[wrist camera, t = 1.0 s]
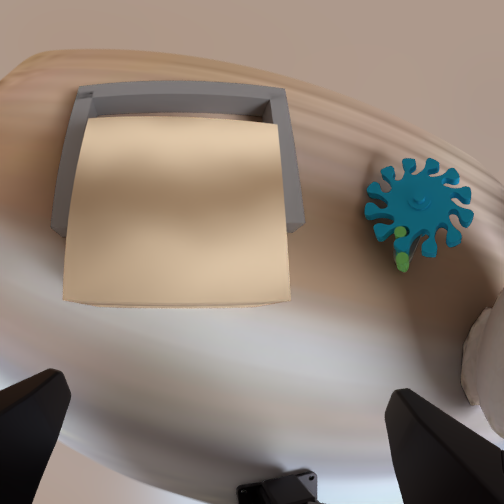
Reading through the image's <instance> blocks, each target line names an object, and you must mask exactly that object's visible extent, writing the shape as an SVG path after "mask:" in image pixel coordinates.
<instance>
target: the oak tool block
mask: <svg viewBox="0 0 504 504" xmlns="http://www.w3.org/2000/svg"><path fill="white" fill-rule="evenodd" d="M63 300H65V301H70V302H75V303H81V304H86V305H92V306H97V307H117V308H243V307H258V306H264V305H270V304H275V303H281V302H286V301H291V296H290V278H289V261H288V245H287V231H286V217H285V204H284V191H283V179H282V167H281V156H280V145H279V135H278V125H277V124H269V123H261V122H251V121H241V120H229V119H216V118H199V117H171V116H129V117H102V118H88V122H87V125H86V129H85V133H84V137H83V141H82V146H81V150H80V155H79V159H78V164H77V169H76V174H75V179H74V185H73V191H72V197H71V204H70V211H69V218H68V227H67V236H66V246H65V258H64V275H63Z"/></svg>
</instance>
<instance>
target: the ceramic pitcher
mask: <svg viewBox="0 0 504 504" xmlns="http://www.w3.org/2000/svg"><path fill="white" fill-rule="evenodd" d="M461 385H462V387H463V389H464V392H465V394H466V396H467V398H468V400H469V402H470V404H471V406H473V405H480V407H481V409H482V411H483V413H484V415H485V417H486V419H487V421H488V422H489V424H490V426H491V428H492V429H493V430H494V431H495V432H496V433H497V434H498V435H499V436H500V437H502V438H503V439H504V289H503V290H502V291H501V292H500V294H499V296H498V298H497V300H496V301H495V304H494V306H493V308H489V307H486V308H485V309H484V310H483V312H482V313H481V315H480V316H479V317H478V319H477V320H476V322H475V323H474V324H473V326H472V327H471V330H470V332H469V334H468V336H467V338H466V340H465V342H464V344H463V360H462V371H461Z"/></svg>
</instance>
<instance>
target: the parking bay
mask: <svg viewBox="0 0 504 504" xmlns="http://www.w3.org/2000/svg"><path fill="white" fill-rule="evenodd" d="M155 112H193V113H222V114H239V115H252V116H262V119H263V123H269V124H277V125H278V135H279V145H280V156H281V167H282V179H283V191H284V204H285V217H286V231H287V233H293V232H294V231H296V230H297V229H298V228H299V227H301V226H302V225H303V224H305V216H304V208H303V200H302V193H301V185H300V178H299V171H298V164H297V158H296V151H295V145H294V138H293V132H292V126H291V120H290V114H289V109H288V103H287V97H286V92H285V89H283V88H276V87H267V86H259V85H249V84H238V83H224V82H206V81H138V82H120V83H107V84H97V85H87V86H79V89H78V93H77V96H76V99H75V103H74V106H73V110H72V113H71V117H70V121H69V124H68V128H67V132H66V137H65V141H64V145H63V150H62V155H61V160H60V165H59V170H58V176H57V182H56V188H55V194H54V202H53V209H52V218H51V228H52V229H53V230H54V231H56V232H57V233H58V234H59V235H61V236H62V237H66V236H67V227H68V218H69V211H70V204H71V197H72V191H73V185H74V179H75V174H76V169H77V164H78V159H79V155H80V150H81V146H82V141H83V137H84V133H85V129H86V125H87V122H88V118H97V116H98V115H111V114H127V113H155Z"/></svg>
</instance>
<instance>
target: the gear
mask: <svg viewBox="0 0 504 504" xmlns="http://www.w3.org/2000/svg"><path fill="white" fill-rule="evenodd" d="M402 164H403V169H404V171H405V173H404V176H403V178H402V179H401V180H399V181H396V180H394V179H395V171H394V168H393V167H392V166H388V167H386V168H383V169H382V170H381V174H382V178H383V180H385V181H386V182H388V183H389V184H390V186H391V188H392V189H391V191H390V192H388V193H384V192H382V191H381V188H380V184H379V183H377V182H373V183H371V184H370V185H369V186H368V188H367V193H368V195H369V197H370V198H374V199H379V200H382V201H383V202H385V203H386V204H387V205H388V206H387V207H386V208H384V209H380V208H378V207H377V206H376V204H374V203H371V202H370V203H367V204H366V206H365V217H366V219H367V220H374V219H377V218H387V219H390V220H393V221H394V223H393V224H391V225H386V224H383V223H377V224H375V225H374V226H373V227H374V232H375V235H376V238H377V239H378V241H379V242H383V241H385V240H386V239H387V238H388V237H389V236H390V235H392V234H393V233H394V234H395V241H394V251H393V257H394V261H395V263H396V264H397V268H398V270H400V271H402V272H406V271H407V270H408V268H409V263H410V262H411V260H412V258H413V255H414V253H415V251H416V248H417V246H418V243H419V241H420V238H421V237H423V236H425V234H426V235H428V236H429V238H428V239H427V240H426V241H424V242H423V244H422V255H423V256H425V257H436V255H437V244H436V242H435V234H436V231H437V230H438V229H439V228H445V229H446V230H447V236H446V244H447V246H448V247H454V246H456V245H458V244H460V243H461V239H462V235H461V233H460V232H459V231H458V230H457V229H456V228H455V227H454V226H453V225H452V224H451V222H450V219H449V215H451V214H455V215H457V216H458V218H459V221H460V224H461V225H462V226H463V227H465V228H467V227H469V225H470V224H471V222H472V220H473V216H474V213H473V212H472V211H471V210H469V209H464V208H461V207H459V206H457V205H456V204H455V203H454V202H453V201H452V200H451V199H452V198H457V199H458V200H459V201H461V202H462V203H463V204H470V200H471V189H470V188H469V187H466V186H465V187H462V188H449V187H446V186H444V185H443V184H445V183H447V184H451V185H457V184H458V183H459V174H458V172H457V171H456V170H455V169H454V168H450V169H448V170H447V172H446V173H444V174H443V175H441V176H437V177H430V176H429V175H430V174H436V173H438V171H439V162H437V161H436V160H434V159H431V158H428V159H427V160H426V165H425V168H424V169H423V170H422V171H421V172H420V173H419V174H417V175H412V174H411V173H413V172H414V171H415V170H416V162H415V159H411V158H406V159H403V160H402Z"/></svg>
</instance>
